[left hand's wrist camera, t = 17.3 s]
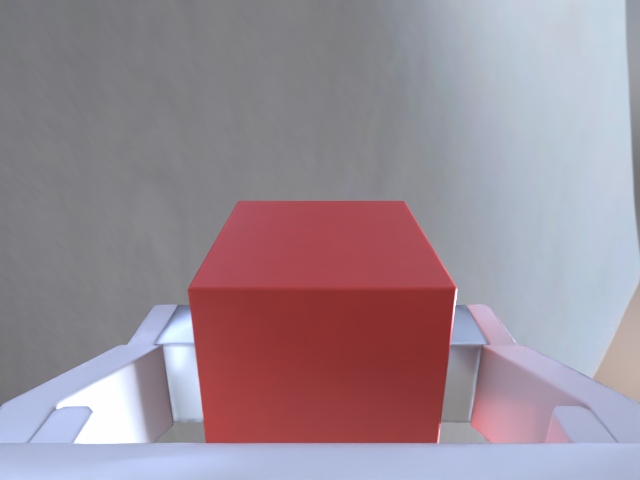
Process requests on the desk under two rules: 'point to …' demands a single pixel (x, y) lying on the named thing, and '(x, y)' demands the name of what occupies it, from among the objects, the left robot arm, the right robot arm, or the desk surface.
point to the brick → (322, 325)
